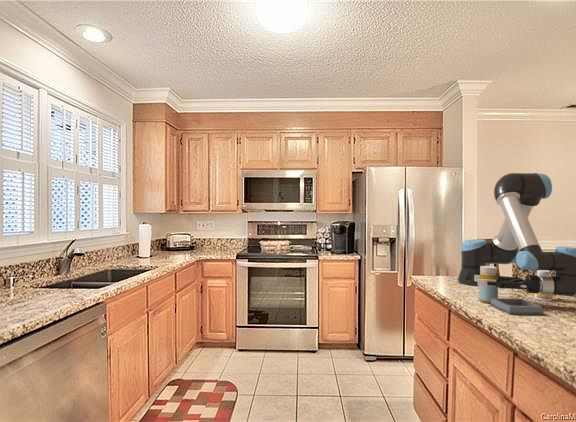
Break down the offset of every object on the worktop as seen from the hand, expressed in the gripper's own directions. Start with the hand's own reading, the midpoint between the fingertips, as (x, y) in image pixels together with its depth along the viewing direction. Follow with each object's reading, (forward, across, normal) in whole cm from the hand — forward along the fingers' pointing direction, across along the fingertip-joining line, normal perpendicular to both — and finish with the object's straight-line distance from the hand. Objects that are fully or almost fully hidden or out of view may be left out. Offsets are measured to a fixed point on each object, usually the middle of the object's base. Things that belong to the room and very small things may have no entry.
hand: (476, 280), depth 151 cm
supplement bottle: (-28, +14, -9) cm, 33 cm away
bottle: (-5, 0, -9) cm, 10 cm away
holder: (-13, -10, -9) cm, 18 cm away
